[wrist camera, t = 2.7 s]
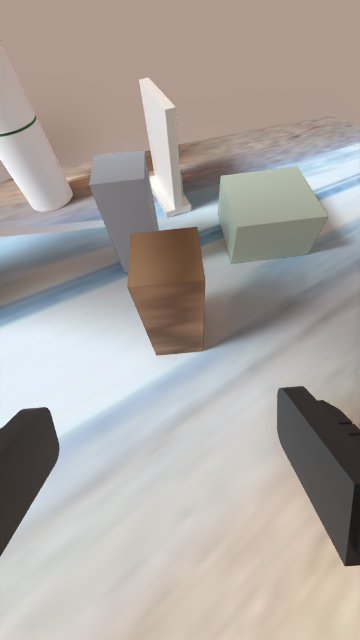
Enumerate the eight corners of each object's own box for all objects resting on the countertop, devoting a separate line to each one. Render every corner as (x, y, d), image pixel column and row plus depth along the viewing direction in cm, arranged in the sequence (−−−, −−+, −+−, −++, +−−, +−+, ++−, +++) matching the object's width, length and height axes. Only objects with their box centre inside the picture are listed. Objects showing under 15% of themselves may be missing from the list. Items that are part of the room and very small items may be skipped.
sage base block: (230, 265, 32) (237, 227, 27) (217, 215, 37) (220, 175, 32) (307, 255, 32) (328, 216, 26) (283, 207, 37) (297, 166, 31)
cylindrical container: (62, 180, 44) (-71, -87, 22) (79, 198, 41) (-55, -92, 19) (25, 198, 42) (-160, -76, 21) (40, 217, 39) (-157, -80, 18)
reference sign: (166, 218, 37) (152, 112, 26) (147, 183, 42) (128, 82, 30) (191, 210, 37) (187, 103, 26) (169, 177, 42) (158, 75, 31)
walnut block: (156, 355, 26) (127, 287, 16) (155, 315, 28) (130, 233, 18) (202, 351, 26) (205, 279, 15) (197, 311, 28) (196, 226, 18)
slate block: (124, 273, 32) (88, 184, 22) (126, 246, 35) (94, 155, 24) (162, 269, 32) (144, 178, 22) (161, 242, 34) (144, 149, 24)
